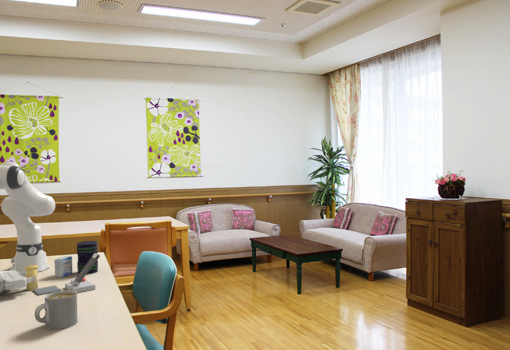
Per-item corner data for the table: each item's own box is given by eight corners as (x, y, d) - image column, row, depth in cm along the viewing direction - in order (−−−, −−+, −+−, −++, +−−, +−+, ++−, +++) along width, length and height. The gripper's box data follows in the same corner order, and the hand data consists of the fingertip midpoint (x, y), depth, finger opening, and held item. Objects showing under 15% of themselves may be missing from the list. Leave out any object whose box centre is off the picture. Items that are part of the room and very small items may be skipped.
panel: (65, 287, 193) (64, 280, 193) (85, 283, 199) (85, 276, 199) (74, 293, 184) (73, 285, 184) (95, 289, 190) (95, 281, 190)
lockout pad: (32, 290, 189) (32, 289, 189) (54, 286, 195) (54, 285, 195) (38, 295, 182) (38, 293, 182) (61, 291, 188) (61, 289, 188)
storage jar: (95, 268, 228) (94, 240, 228) (100, 272, 220) (99, 242, 220) (75, 271, 223) (74, 242, 222) (79, 275, 214) (78, 245, 214)
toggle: (71, 282, 190) (94, 252, 197) (74, 284, 191) (96, 254, 197) (75, 284, 187) (98, 254, 193) (78, 286, 188) (100, 256, 194)
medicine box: (62, 277, 211) (62, 259, 211) (54, 277, 212) (54, 259, 212) (72, 273, 219) (72, 256, 219) (64, 273, 220) (64, 255, 220)
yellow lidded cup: (24, 288, 192) (23, 266, 192) (36, 286, 195) (36, 264, 195) (27, 291, 188) (26, 268, 188) (39, 289, 192) (39, 266, 191)
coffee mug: (73, 316, 155) (72, 288, 155) (81, 324, 147) (80, 295, 147) (31, 325, 147) (30, 296, 147) (37, 334, 139) (36, 303, 139)
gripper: (1, 279, 175) (39, 273, 184) (-8, 270, 191) (27, 265, 200) (2, 295, 175) (39, 288, 184) (-8, 284, 191) (27, 278, 200)
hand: (33, 276), depth 192 cm, fingers open, 8 cm apart
